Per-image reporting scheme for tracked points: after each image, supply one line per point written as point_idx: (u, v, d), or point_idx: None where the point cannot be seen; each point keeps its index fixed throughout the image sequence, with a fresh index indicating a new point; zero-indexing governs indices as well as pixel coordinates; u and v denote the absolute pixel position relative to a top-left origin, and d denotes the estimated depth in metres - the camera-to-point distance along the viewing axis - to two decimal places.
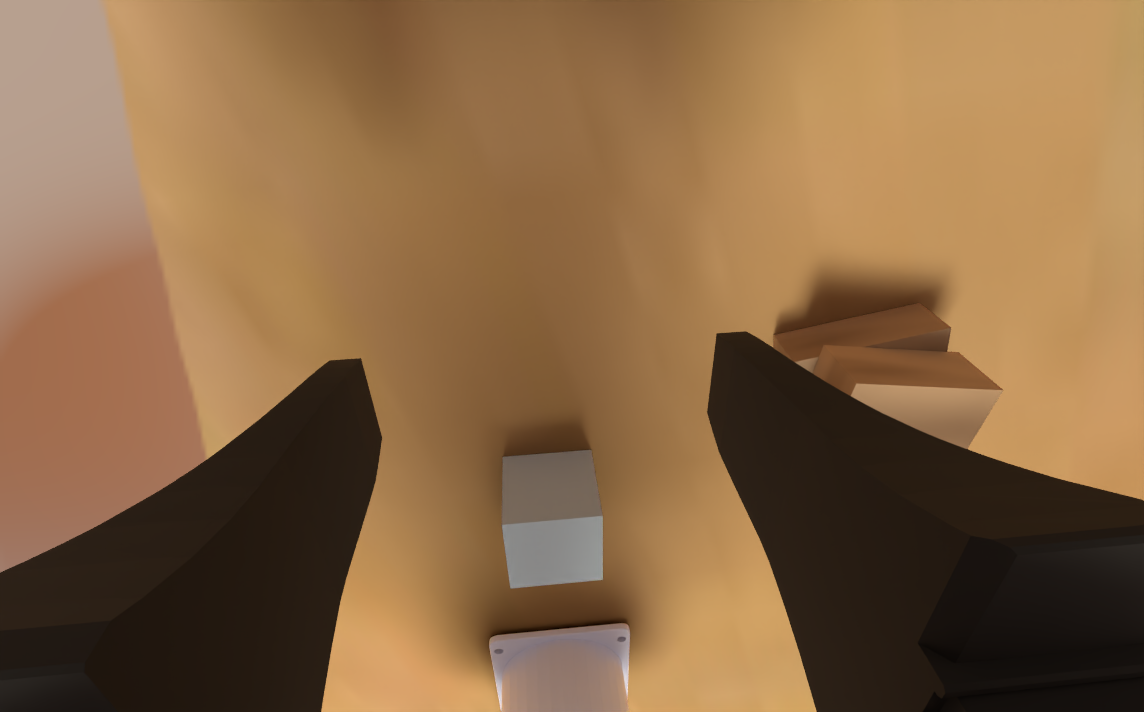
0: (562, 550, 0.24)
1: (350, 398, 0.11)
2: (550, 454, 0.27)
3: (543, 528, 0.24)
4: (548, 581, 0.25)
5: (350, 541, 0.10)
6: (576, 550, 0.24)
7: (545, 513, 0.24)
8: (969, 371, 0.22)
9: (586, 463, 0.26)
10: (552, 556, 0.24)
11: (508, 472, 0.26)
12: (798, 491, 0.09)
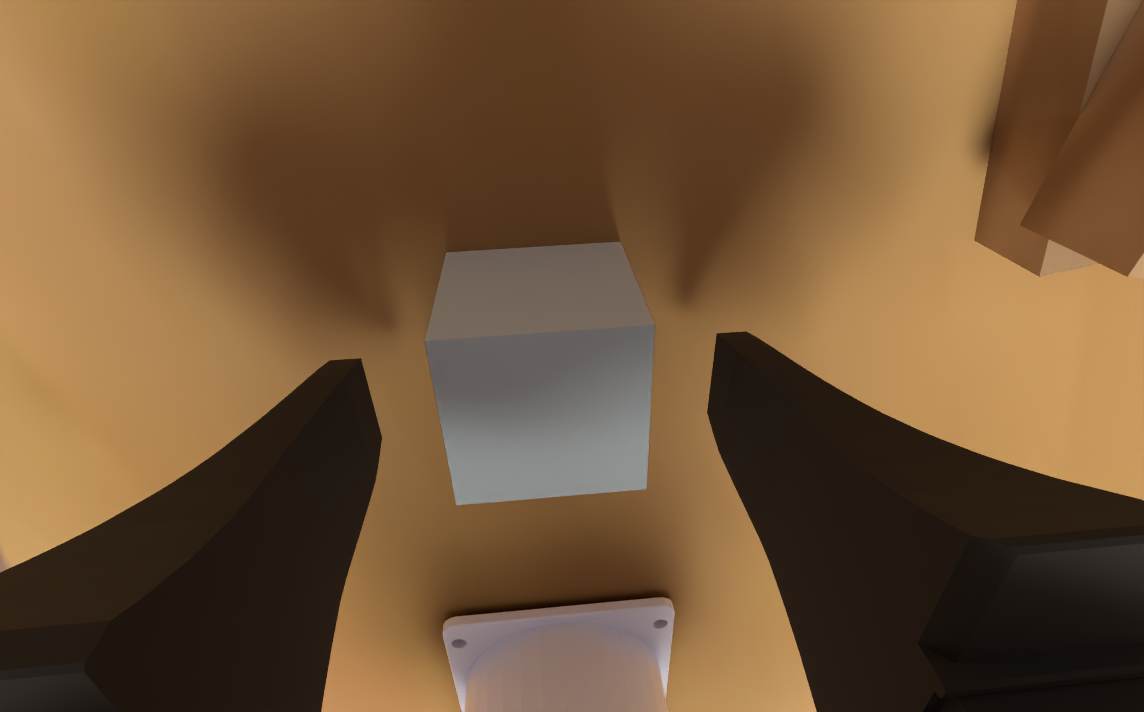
0: (564, 414, 0.11)
1: (350, 398, 0.11)
2: (540, 248, 0.13)
3: (521, 354, 0.10)
4: (535, 490, 0.12)
5: (350, 541, 0.10)
6: (592, 415, 0.11)
7: (524, 322, 0.11)
8: None
9: (612, 257, 0.13)
10: (542, 429, 0.11)
11: (454, 270, 0.13)
12: (798, 491, 0.09)
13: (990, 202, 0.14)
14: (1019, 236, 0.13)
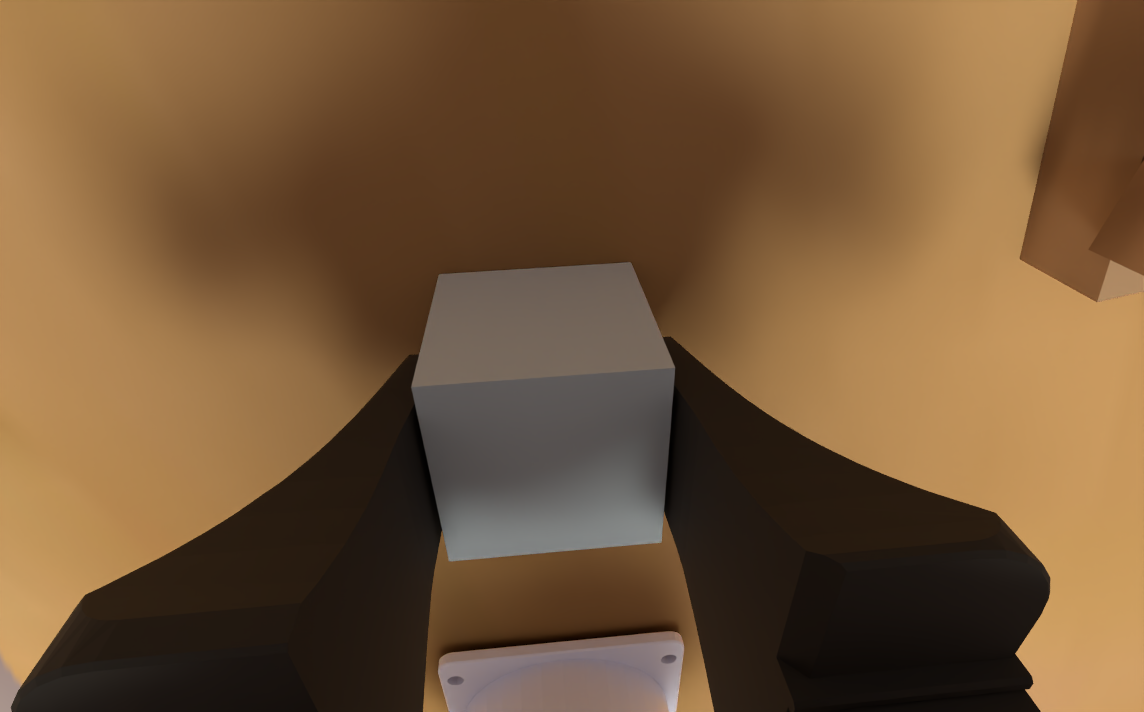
0: (570, 464, 0.10)
1: None
2: (543, 271, 0.12)
3: (522, 401, 0.09)
4: (537, 545, 0.11)
5: (437, 533, 0.11)
6: (603, 466, 0.10)
7: (526, 363, 0.09)
8: None
9: (623, 282, 0.12)
10: (546, 480, 0.10)
11: (446, 298, 0.11)
12: (699, 500, 0.09)
13: (1037, 218, 0.12)
14: (1073, 257, 0.12)
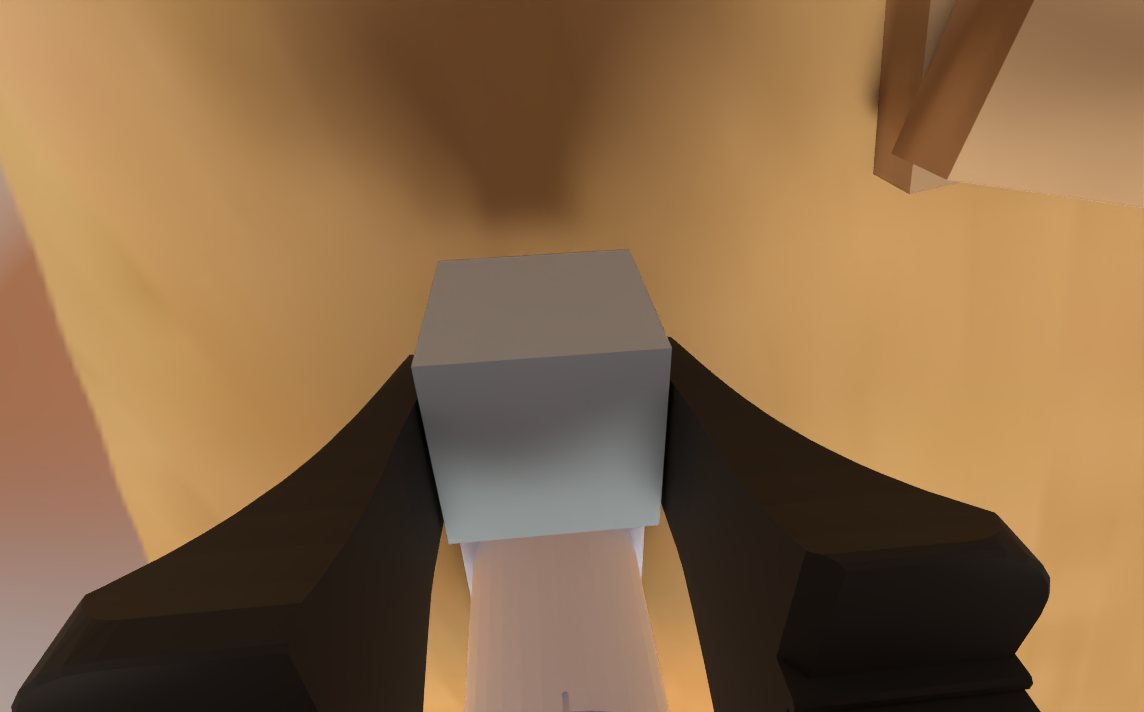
0: (569, 445, 0.10)
1: None
2: (541, 257, 0.12)
3: (520, 380, 0.09)
4: (535, 527, 0.11)
5: (437, 534, 0.11)
6: (601, 447, 0.10)
7: (524, 344, 0.09)
8: None
9: (620, 268, 0.12)
10: (544, 461, 0.10)
11: (446, 283, 0.11)
12: (698, 499, 0.09)
13: (879, 141, 0.18)
14: (897, 165, 0.17)
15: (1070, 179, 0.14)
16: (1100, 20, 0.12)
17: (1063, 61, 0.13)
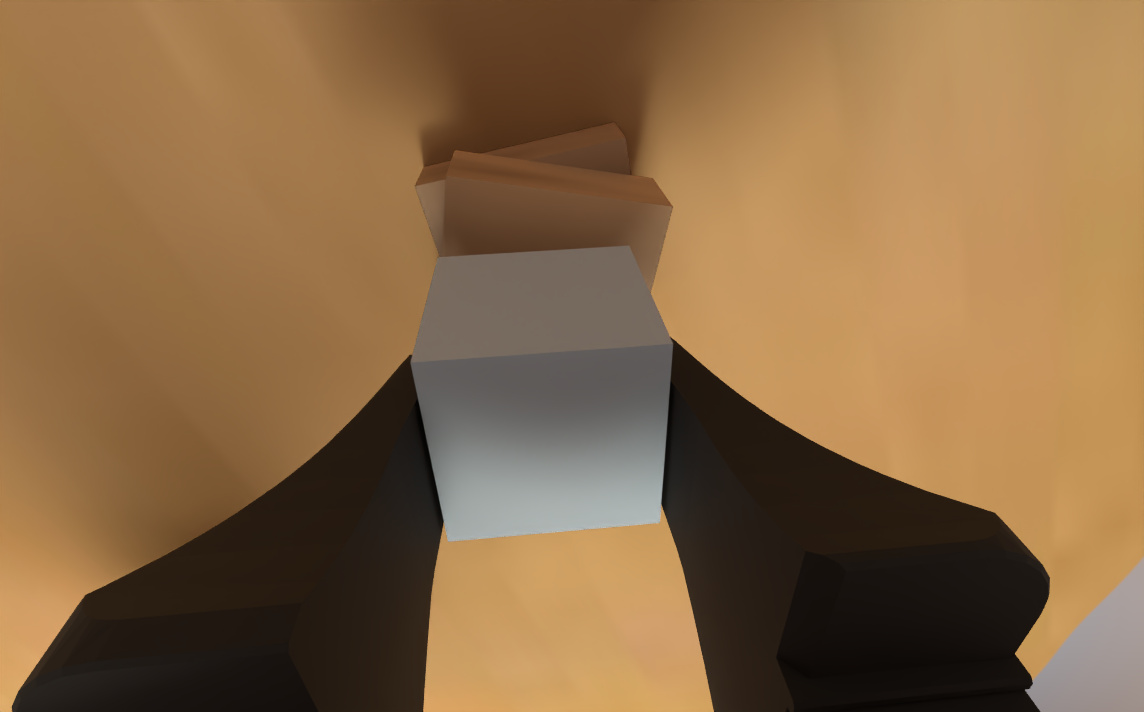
0: (569, 442, 0.10)
1: None
2: (541, 254, 0.12)
3: (520, 377, 0.09)
4: (535, 525, 0.11)
5: (437, 533, 0.11)
6: (601, 444, 0.10)
7: (525, 340, 0.09)
8: (644, 190, 0.16)
9: (621, 264, 0.12)
10: (544, 459, 0.10)
11: (445, 279, 0.11)
12: (698, 499, 0.09)
13: None
14: None
15: None
16: None
17: None
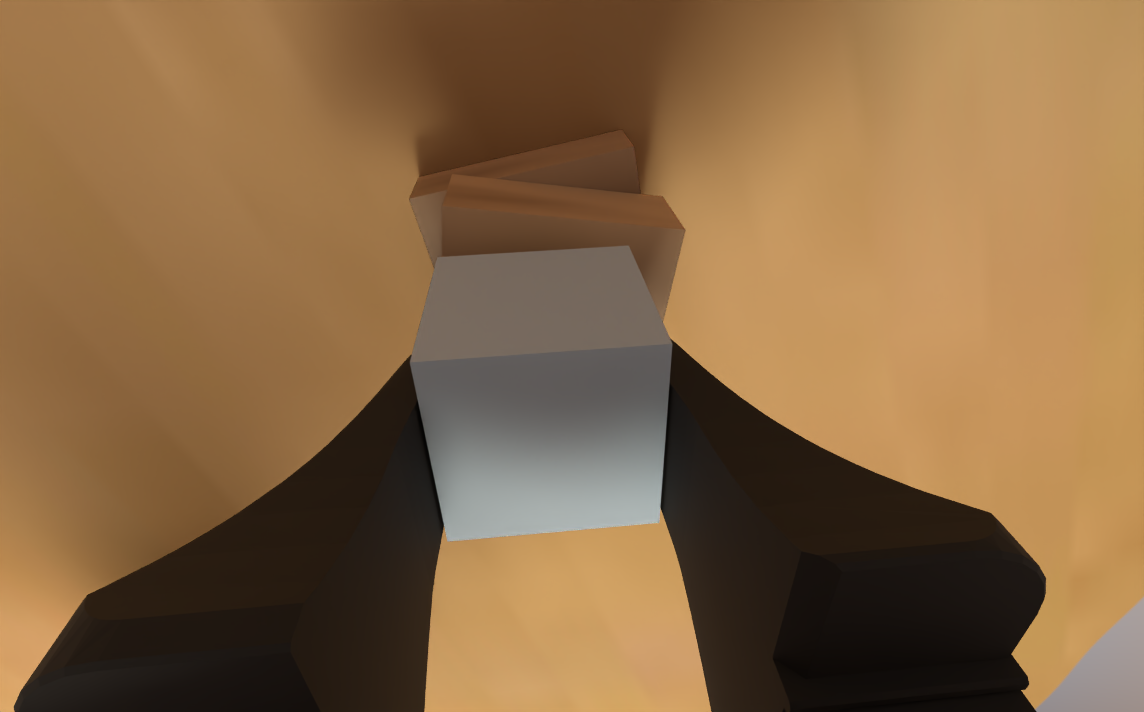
0: (568, 442, 0.10)
1: None
2: (541, 254, 0.12)
3: (519, 377, 0.09)
4: (535, 525, 0.11)
5: (438, 533, 0.11)
6: (601, 444, 0.10)
7: (523, 340, 0.09)
8: (654, 211, 0.15)
9: (620, 264, 0.12)
10: (544, 459, 0.10)
11: (445, 279, 0.11)
12: (696, 500, 0.09)
13: None
14: None
15: None
16: None
17: None
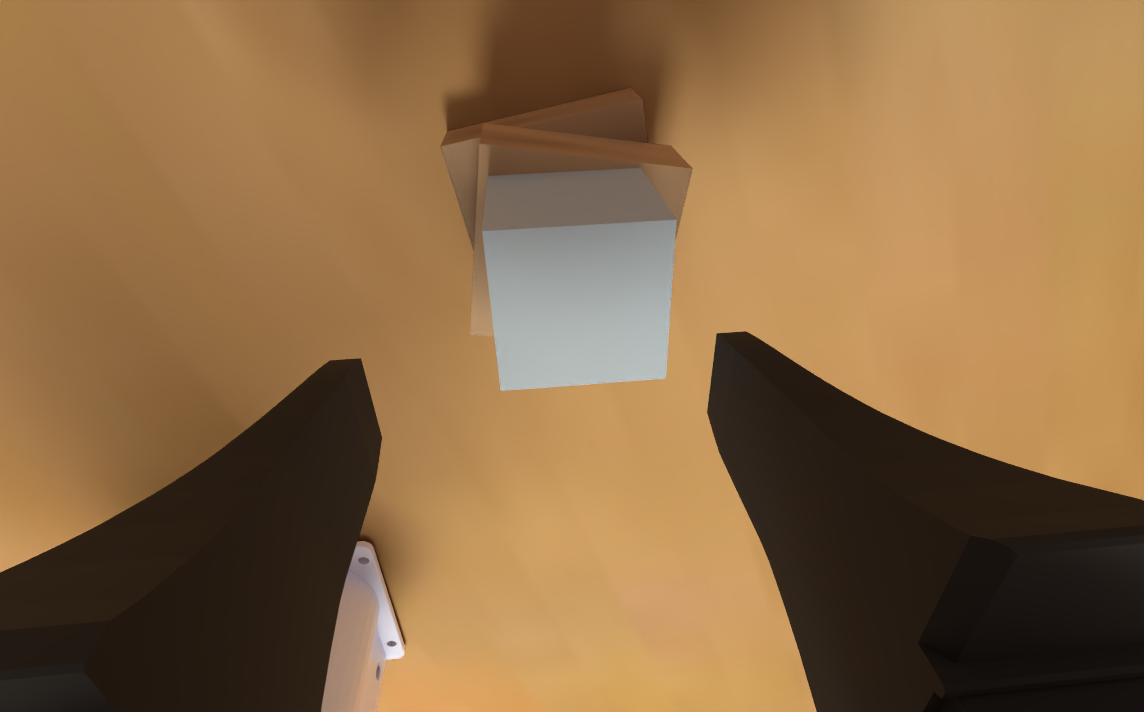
0: (597, 303, 0.13)
1: (350, 398, 0.11)
2: (570, 173, 0.15)
3: (562, 245, 0.12)
4: (569, 377, 0.14)
5: (350, 541, 0.10)
6: (621, 305, 0.13)
7: (564, 219, 0.12)
8: (664, 155, 0.17)
9: (635, 178, 0.15)
10: (578, 317, 0.13)
11: (497, 188, 0.14)
12: (798, 491, 0.09)
13: None
14: None
15: None
16: None
17: None
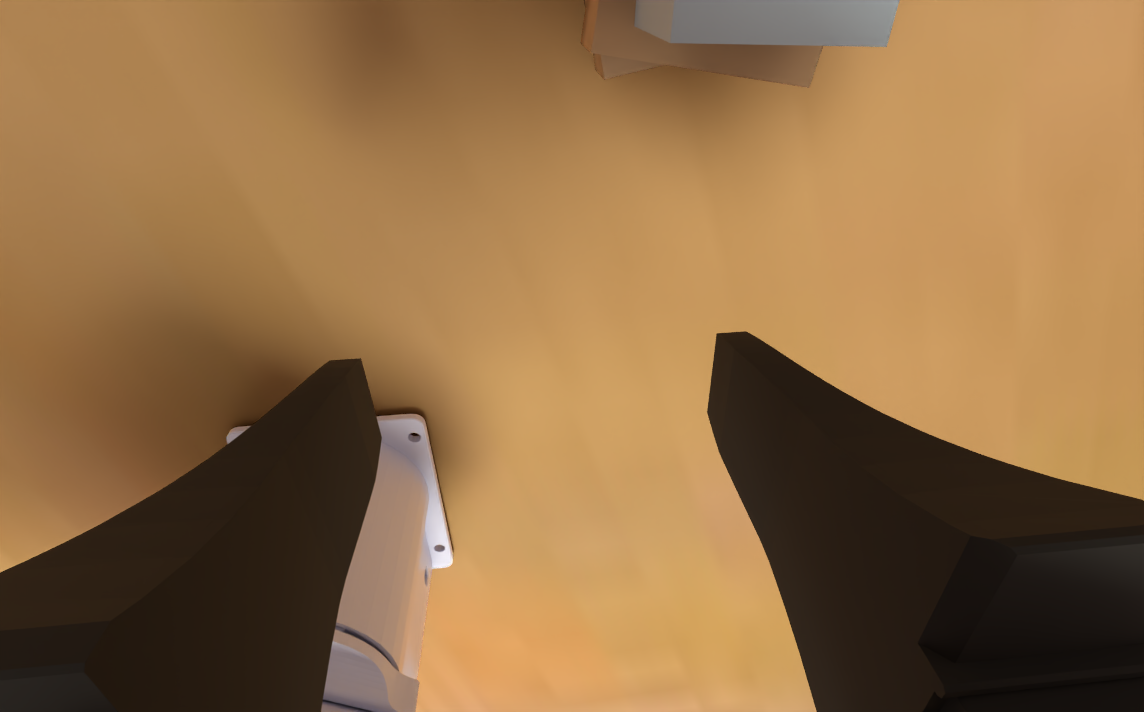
0: None
1: (350, 398, 0.11)
2: None
3: None
4: (763, 29, 0.10)
5: (350, 541, 0.10)
6: None
7: None
8: None
9: None
10: None
11: None
12: (798, 491, 0.09)
13: None
14: None
15: (720, 54, 0.14)
16: None
17: None
